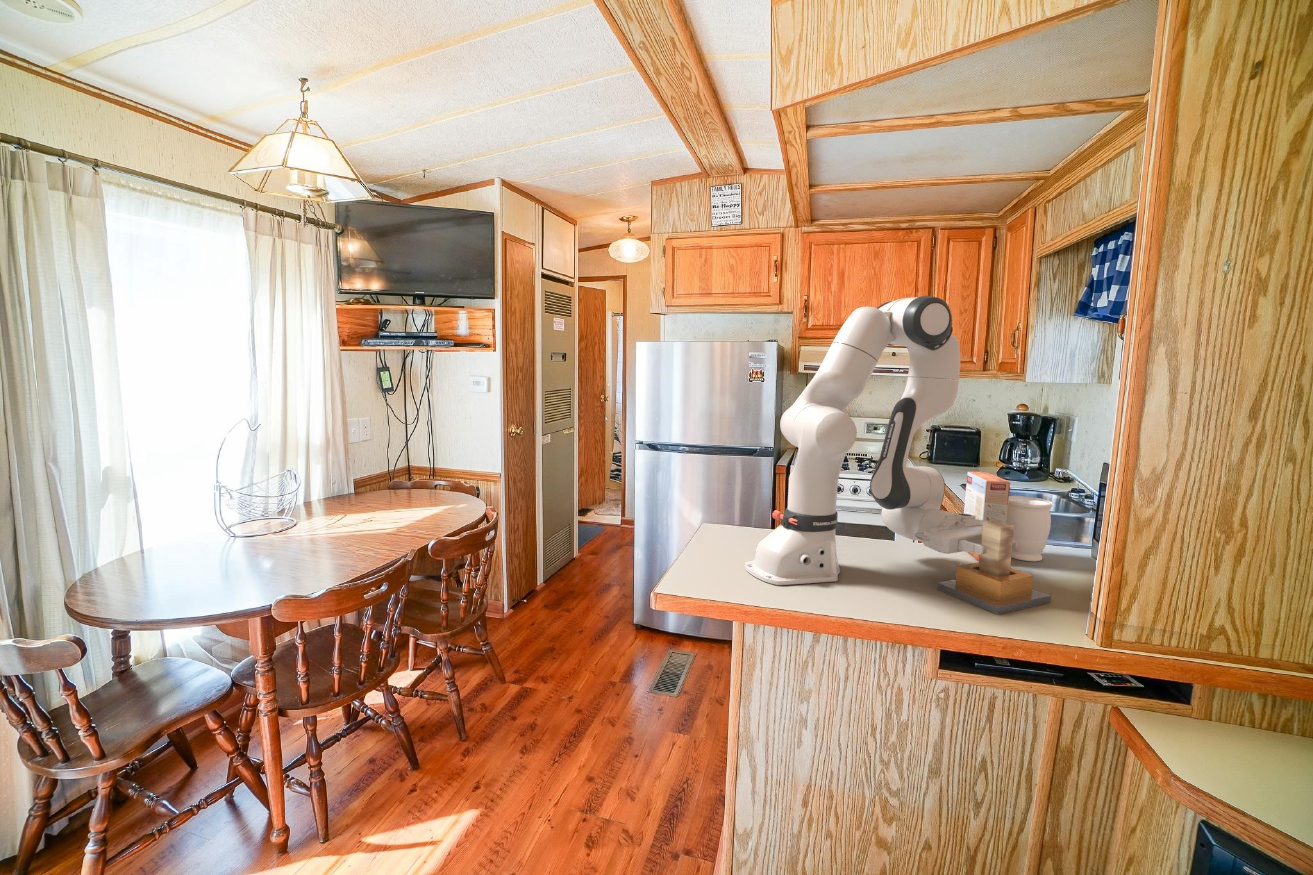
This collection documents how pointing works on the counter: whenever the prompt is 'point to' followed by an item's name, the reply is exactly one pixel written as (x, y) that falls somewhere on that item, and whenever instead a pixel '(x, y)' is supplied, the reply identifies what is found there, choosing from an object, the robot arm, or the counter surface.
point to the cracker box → (986, 498)
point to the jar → (1029, 526)
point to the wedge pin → (996, 548)
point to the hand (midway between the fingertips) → (999, 547)
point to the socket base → (994, 589)
